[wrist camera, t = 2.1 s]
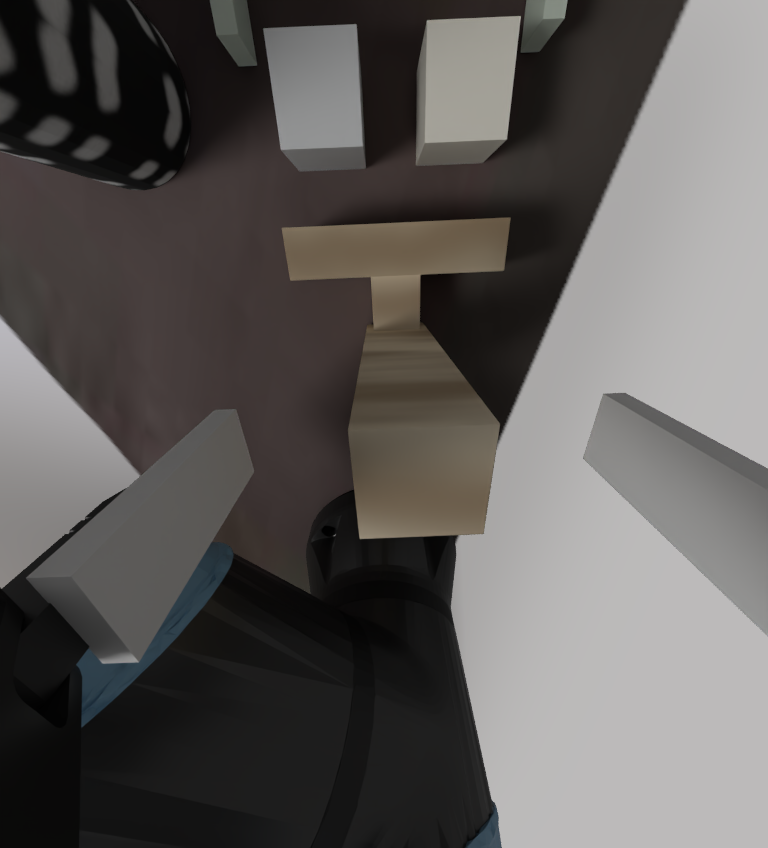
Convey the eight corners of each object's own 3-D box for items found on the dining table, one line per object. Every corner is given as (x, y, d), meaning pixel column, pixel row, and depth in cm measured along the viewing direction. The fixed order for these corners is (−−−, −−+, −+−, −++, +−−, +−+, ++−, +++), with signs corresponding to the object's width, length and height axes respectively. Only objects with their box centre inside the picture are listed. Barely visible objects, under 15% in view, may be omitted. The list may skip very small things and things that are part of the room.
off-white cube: (482, 163, 18) (507, 139, 15) (415, 166, 18) (424, 143, 15) (490, 69, 17) (520, 15, 13) (416, 72, 17) (427, 20, 13)
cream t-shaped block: (472, 373, 24) (607, 528, 10) (319, 379, 24) (236, 544, 10) (486, 225, 20) (772, 122, 5) (299, 234, 20) (91, 155, 5)
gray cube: (366, 168, 18) (362, 146, 15) (299, 171, 18) (280, 149, 15) (361, 75, 17) (356, 23, 13) (288, 78, 17) (263, 28, 13)
